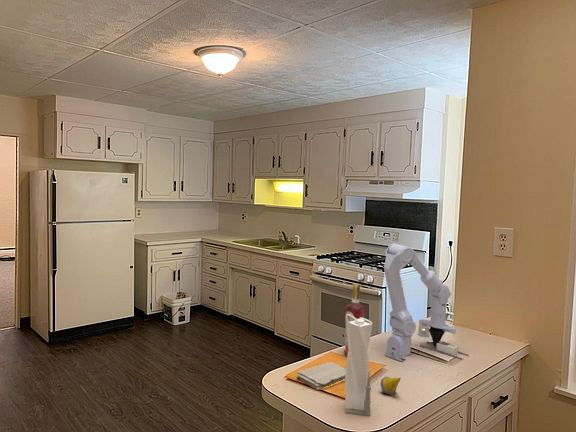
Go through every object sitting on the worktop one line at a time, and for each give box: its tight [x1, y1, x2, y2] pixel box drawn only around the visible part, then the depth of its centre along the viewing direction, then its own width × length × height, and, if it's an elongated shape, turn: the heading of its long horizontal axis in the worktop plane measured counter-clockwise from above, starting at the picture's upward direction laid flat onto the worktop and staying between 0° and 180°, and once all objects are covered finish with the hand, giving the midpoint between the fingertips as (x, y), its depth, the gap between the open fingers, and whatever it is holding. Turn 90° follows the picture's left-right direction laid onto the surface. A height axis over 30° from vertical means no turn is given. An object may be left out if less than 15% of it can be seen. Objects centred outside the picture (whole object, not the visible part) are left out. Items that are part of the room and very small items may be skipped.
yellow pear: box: [379, 376, 402, 396], centre depth 137 cm, size 5×5×10 cm
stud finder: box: [436, 340, 459, 356], centre depth 171 cm, size 4×7×3 cm, turn 44°
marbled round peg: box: [417, 318, 430, 338], centre depth 189 cm, size 4×4×8 cm
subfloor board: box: [419, 341, 469, 361], centre depth 174 cm, size 20×21×2 cm
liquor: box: [343, 283, 366, 356], centre depth 166 cm, size 7×7×28 cm
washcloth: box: [296, 361, 346, 391], centre depth 147 cm, size 12×18×3 cm, turn 130°
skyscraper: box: [344, 313, 374, 417], centre depth 127 cm, size 8×8×28 cm
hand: (436, 346), depth 174 cm, fingers closed
